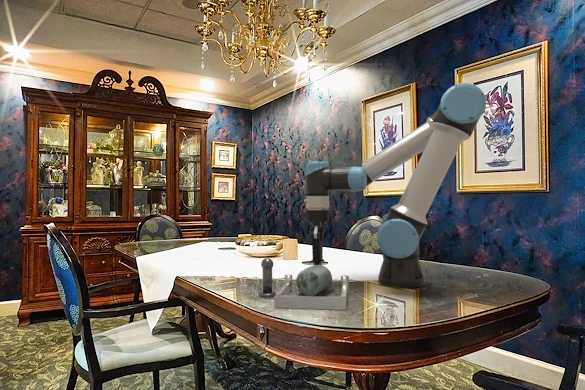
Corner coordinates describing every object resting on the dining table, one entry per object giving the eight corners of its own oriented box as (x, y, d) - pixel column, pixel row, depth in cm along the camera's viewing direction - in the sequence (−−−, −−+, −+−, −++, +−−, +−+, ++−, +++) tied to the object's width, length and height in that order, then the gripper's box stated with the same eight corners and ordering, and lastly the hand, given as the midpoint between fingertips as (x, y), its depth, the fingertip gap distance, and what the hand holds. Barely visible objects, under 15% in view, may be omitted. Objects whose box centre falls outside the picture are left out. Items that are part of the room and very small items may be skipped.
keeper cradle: (349, 292, 120) (348, 275, 120) (348, 310, 100) (347, 290, 100) (285, 290, 123) (285, 274, 123) (272, 307, 103) (271, 288, 103)
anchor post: (277, 293, 119) (277, 257, 119) (274, 297, 114) (273, 259, 114) (261, 293, 120) (261, 256, 120) (257, 297, 115) (257, 259, 115)
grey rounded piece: (320, 288, 110) (310, 255, 114) (293, 301, 114) (285, 268, 118) (344, 292, 120) (334, 261, 125) (319, 303, 124) (310, 273, 129)
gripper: (308, 209, 135) (309, 278, 135) (303, 209, 123) (303, 286, 122) (330, 208, 134) (331, 278, 134) (327, 209, 121) (327, 286, 121)
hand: (317, 282), depth 128 cm, fingers closed
